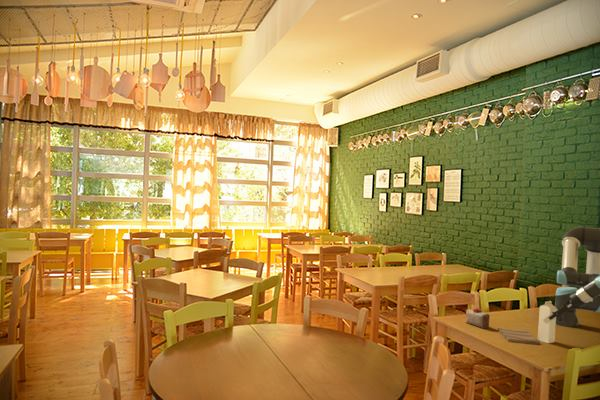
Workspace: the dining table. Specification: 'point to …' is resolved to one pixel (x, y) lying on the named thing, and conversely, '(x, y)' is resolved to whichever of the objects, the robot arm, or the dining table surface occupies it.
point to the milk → (547, 330)
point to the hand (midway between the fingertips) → (546, 319)
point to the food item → (477, 318)
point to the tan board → (518, 336)
